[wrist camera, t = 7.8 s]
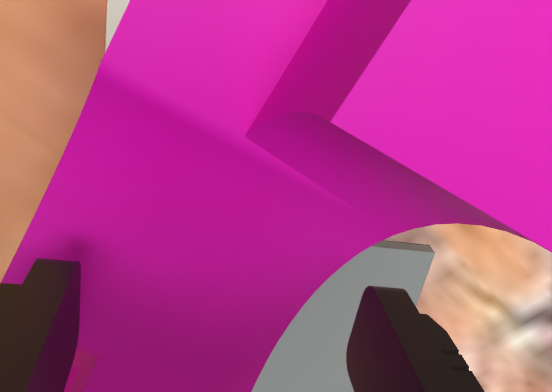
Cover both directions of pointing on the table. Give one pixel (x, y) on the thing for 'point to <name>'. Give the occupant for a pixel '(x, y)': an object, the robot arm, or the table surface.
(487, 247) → the table surface
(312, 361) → the slate board
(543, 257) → the table surface
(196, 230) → the magenta cradle holder
